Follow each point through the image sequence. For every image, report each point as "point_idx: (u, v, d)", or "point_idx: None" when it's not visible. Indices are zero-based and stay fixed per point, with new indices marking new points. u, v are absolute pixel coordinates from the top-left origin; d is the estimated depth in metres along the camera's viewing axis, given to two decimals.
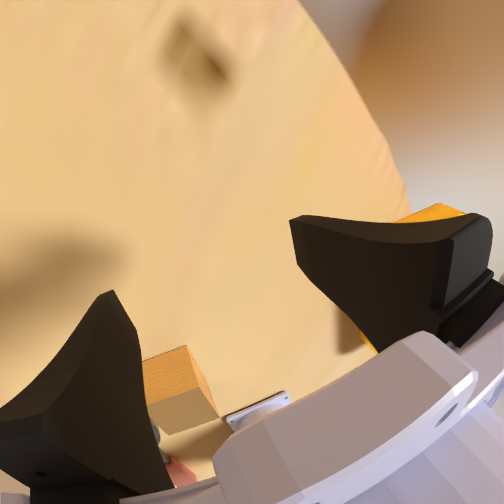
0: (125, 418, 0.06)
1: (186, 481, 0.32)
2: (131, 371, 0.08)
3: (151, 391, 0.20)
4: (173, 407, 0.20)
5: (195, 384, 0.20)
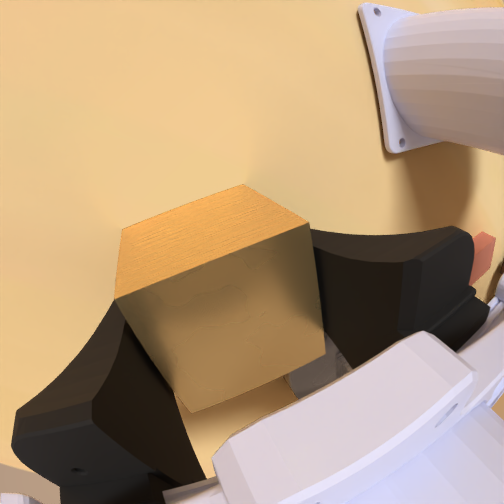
0: (159, 407, 0.06)
1: (487, 255, 0.19)
2: None
3: None
4: (204, 358, 0.08)
5: (118, 299, 0.07)
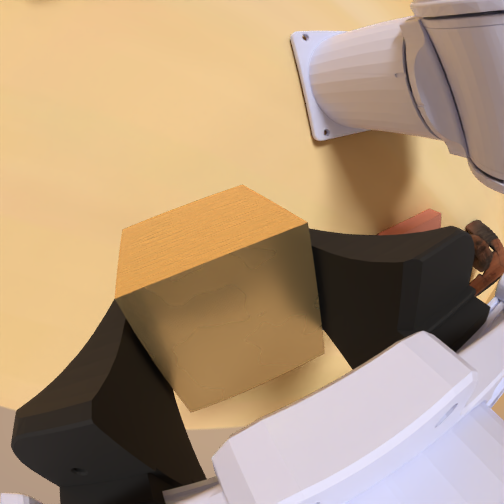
0: (159, 407, 0.06)
1: (432, 228, 0.25)
2: None
3: None
4: (203, 357, 0.08)
5: (119, 298, 0.07)
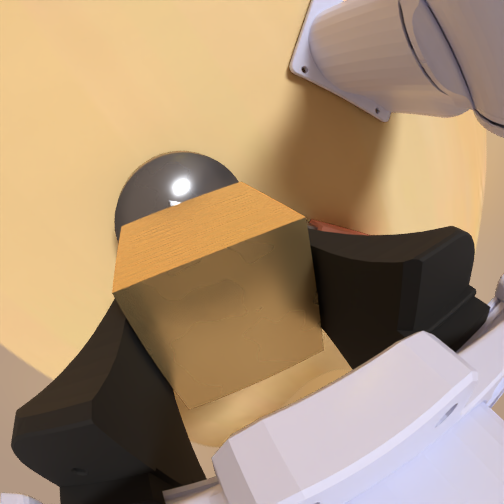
0: (159, 407, 0.06)
1: None
2: None
3: None
4: (201, 353, 0.08)
5: (116, 293, 0.07)
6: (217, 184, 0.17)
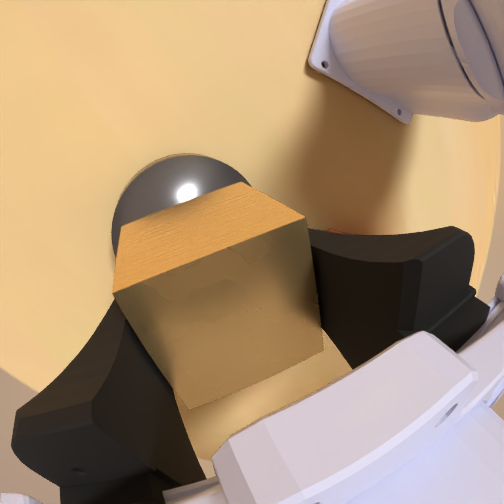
0: (159, 407, 0.06)
1: None
2: None
3: None
4: (201, 353, 0.08)
5: (116, 293, 0.07)
6: None
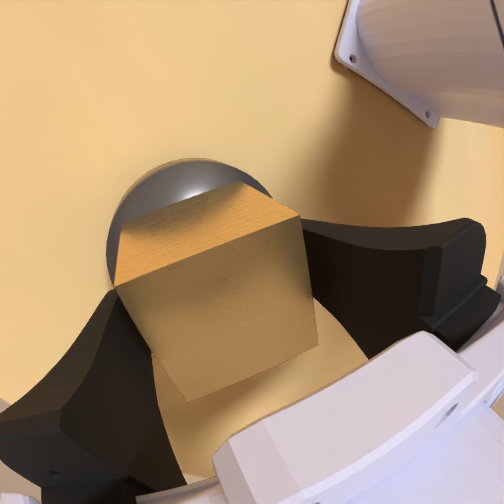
0: (138, 414, 0.06)
1: None
2: (142, 367, 0.08)
3: None
4: (199, 346, 0.08)
5: (118, 287, 0.07)
6: None
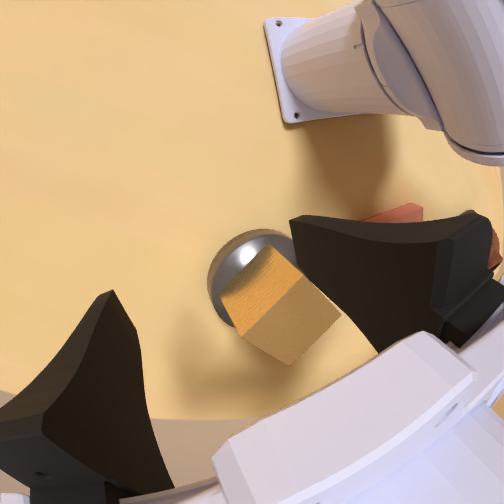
0: (125, 418, 0.06)
1: (413, 221, 0.25)
2: (131, 371, 0.08)
3: None
4: (284, 340, 0.18)
5: (241, 335, 0.17)
6: (277, 250, 0.21)
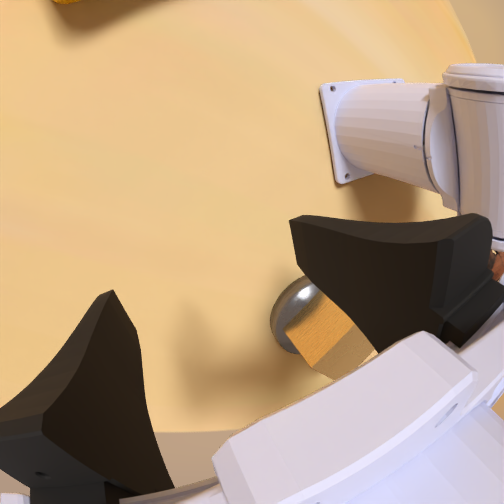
0: (125, 418, 0.06)
1: None
2: (131, 371, 0.08)
3: None
4: (340, 365, 0.21)
5: (310, 365, 0.21)
6: None
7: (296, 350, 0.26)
